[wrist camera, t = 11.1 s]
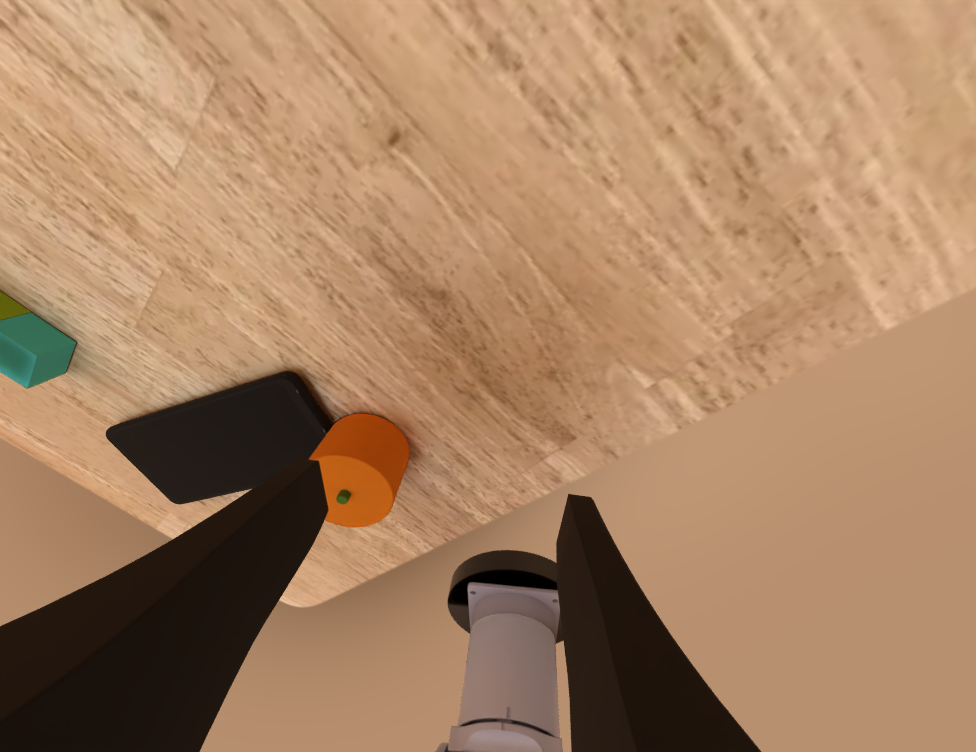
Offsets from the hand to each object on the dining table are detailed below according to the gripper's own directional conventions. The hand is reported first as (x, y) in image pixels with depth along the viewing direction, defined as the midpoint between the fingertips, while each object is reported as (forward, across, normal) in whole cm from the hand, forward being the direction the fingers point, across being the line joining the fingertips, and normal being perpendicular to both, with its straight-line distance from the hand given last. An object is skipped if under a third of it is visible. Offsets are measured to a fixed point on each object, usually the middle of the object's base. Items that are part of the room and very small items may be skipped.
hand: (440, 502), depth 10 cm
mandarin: (+9, +6, +7) cm, 13 cm away
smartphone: (+9, +16, +8) cm, 20 cm away
